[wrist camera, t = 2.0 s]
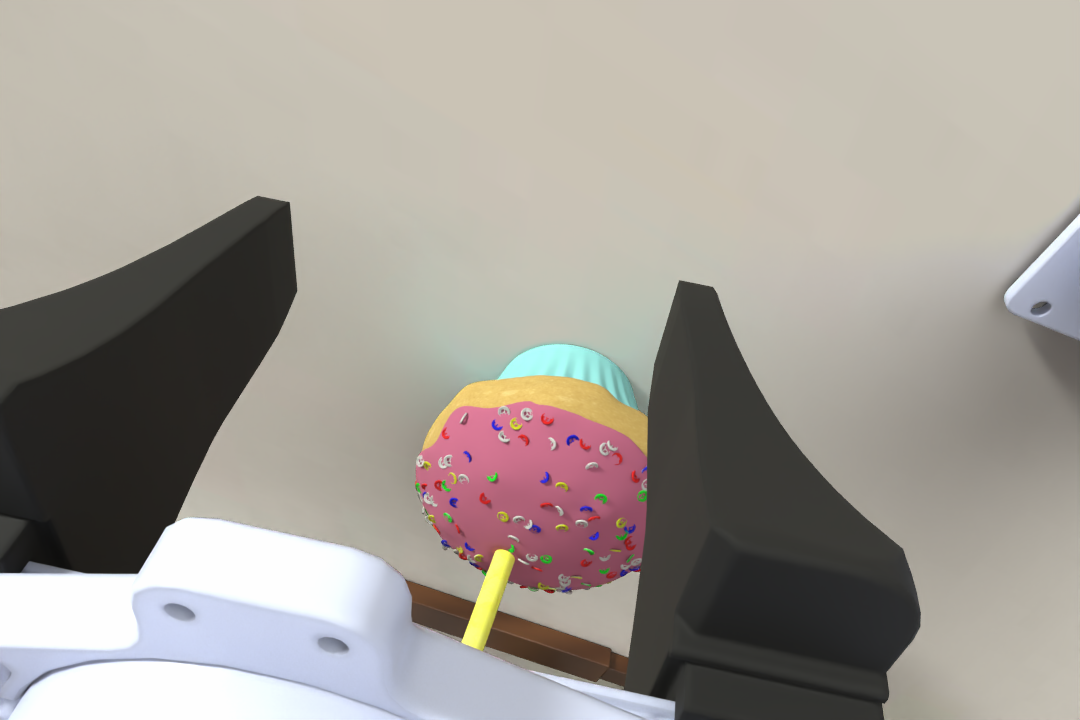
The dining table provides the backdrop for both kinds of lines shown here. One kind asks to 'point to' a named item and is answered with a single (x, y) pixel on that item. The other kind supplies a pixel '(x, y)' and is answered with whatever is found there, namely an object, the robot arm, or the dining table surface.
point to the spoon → (519, 637)
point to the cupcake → (539, 477)
